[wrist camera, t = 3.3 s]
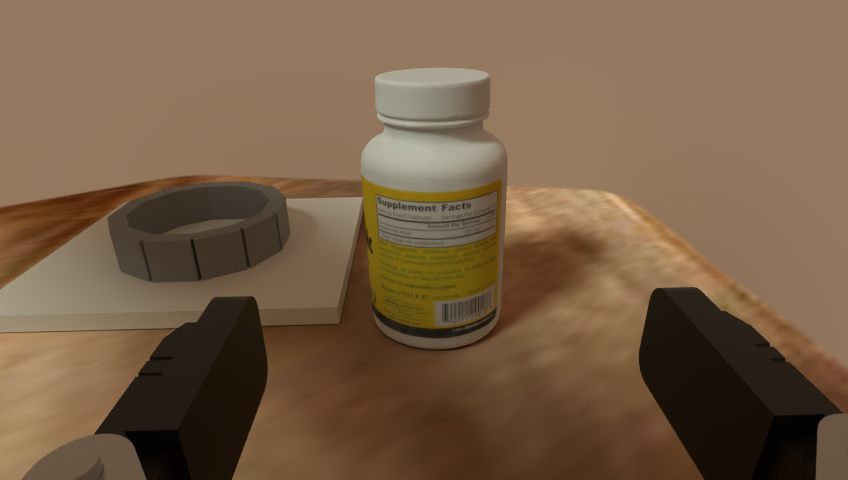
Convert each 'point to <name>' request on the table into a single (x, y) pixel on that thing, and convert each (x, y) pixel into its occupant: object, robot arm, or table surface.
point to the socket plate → (193, 262)
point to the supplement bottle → (434, 208)
